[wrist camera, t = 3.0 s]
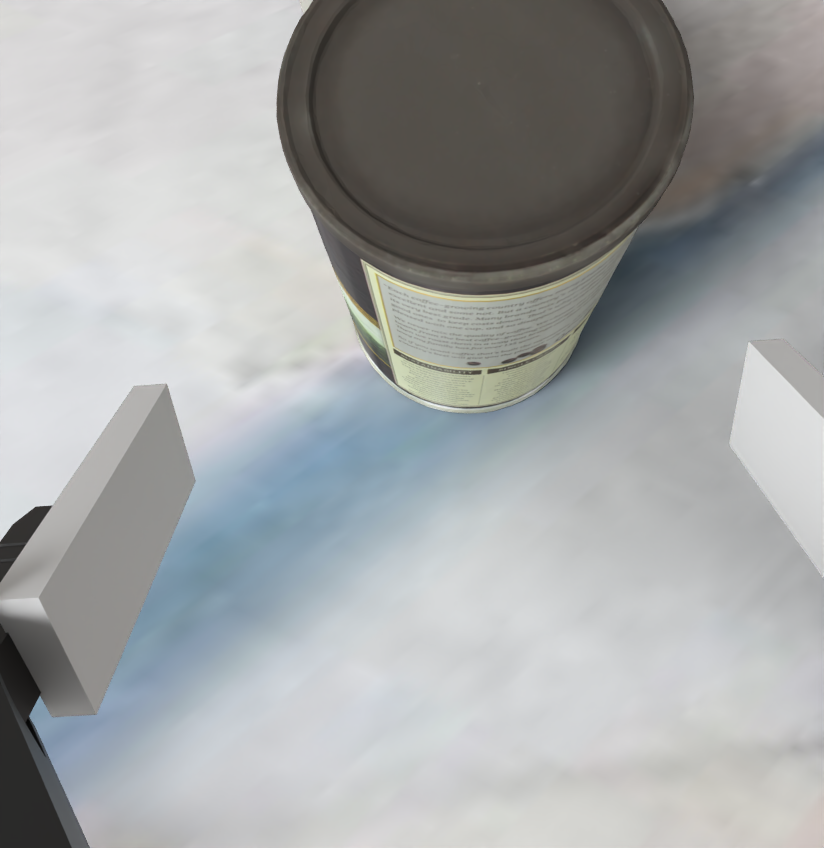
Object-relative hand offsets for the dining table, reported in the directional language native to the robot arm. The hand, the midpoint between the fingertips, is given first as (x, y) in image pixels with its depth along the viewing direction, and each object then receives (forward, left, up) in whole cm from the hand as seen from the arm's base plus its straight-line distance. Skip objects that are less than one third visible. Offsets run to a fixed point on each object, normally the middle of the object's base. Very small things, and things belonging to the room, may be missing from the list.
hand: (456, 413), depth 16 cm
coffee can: (+7, -4, -14) cm, 16 cm away
